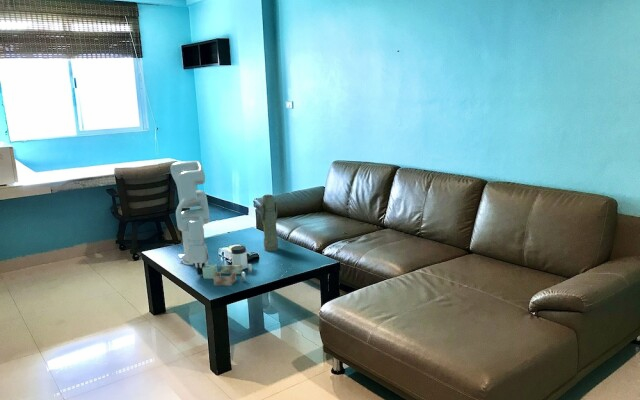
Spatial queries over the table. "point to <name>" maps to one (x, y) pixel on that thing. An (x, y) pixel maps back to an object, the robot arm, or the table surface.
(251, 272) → the goal posts
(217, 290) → the table surface
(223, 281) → the tunnel
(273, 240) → the olive brown statue
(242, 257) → the jar
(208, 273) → the block
